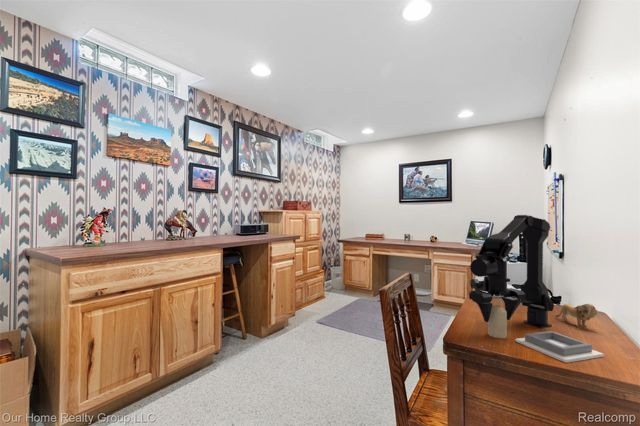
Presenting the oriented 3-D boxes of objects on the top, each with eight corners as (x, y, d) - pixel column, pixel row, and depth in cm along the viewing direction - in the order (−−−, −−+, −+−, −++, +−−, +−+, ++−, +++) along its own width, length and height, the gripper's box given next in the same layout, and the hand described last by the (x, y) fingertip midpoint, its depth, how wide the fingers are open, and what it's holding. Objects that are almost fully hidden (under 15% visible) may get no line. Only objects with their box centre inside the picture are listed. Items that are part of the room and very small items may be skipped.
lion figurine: (601, 330, 106) (601, 305, 107) (590, 331, 105) (590, 305, 105) (560, 317, 121) (559, 295, 121) (549, 318, 119) (549, 295, 120)
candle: (509, 339, 96) (509, 308, 97) (491, 337, 98) (491, 307, 98) (502, 333, 102) (502, 304, 102) (485, 331, 103) (485, 303, 103)
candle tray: (549, 336, 99) (549, 328, 99) (603, 356, 85) (603, 346, 85) (515, 341, 95) (515, 332, 95) (566, 362, 81) (566, 352, 81)
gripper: (497, 269, 111) (498, 311, 110) (457, 271, 105) (457, 315, 105) (526, 275, 100) (526, 321, 100) (482, 277, 95) (482, 326, 94)
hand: (497, 320), depth 100 cm, fingers open, 9 cm apart
